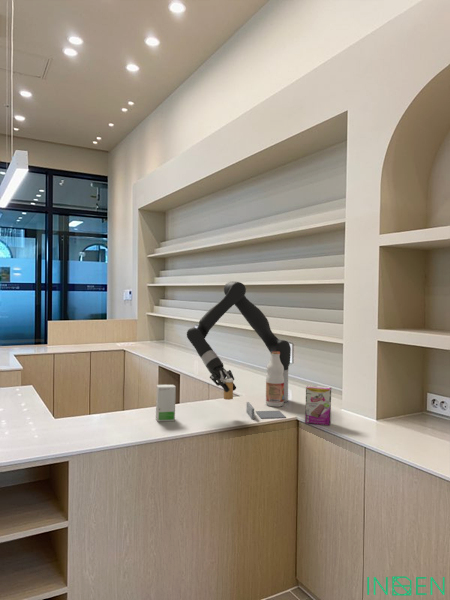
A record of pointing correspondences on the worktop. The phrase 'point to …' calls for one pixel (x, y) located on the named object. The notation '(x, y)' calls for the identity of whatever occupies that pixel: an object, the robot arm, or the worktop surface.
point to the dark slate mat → (270, 414)
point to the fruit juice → (275, 381)
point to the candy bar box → (318, 405)
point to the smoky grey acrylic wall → (250, 410)
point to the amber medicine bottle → (229, 383)
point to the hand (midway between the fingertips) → (231, 390)
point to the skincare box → (165, 403)
